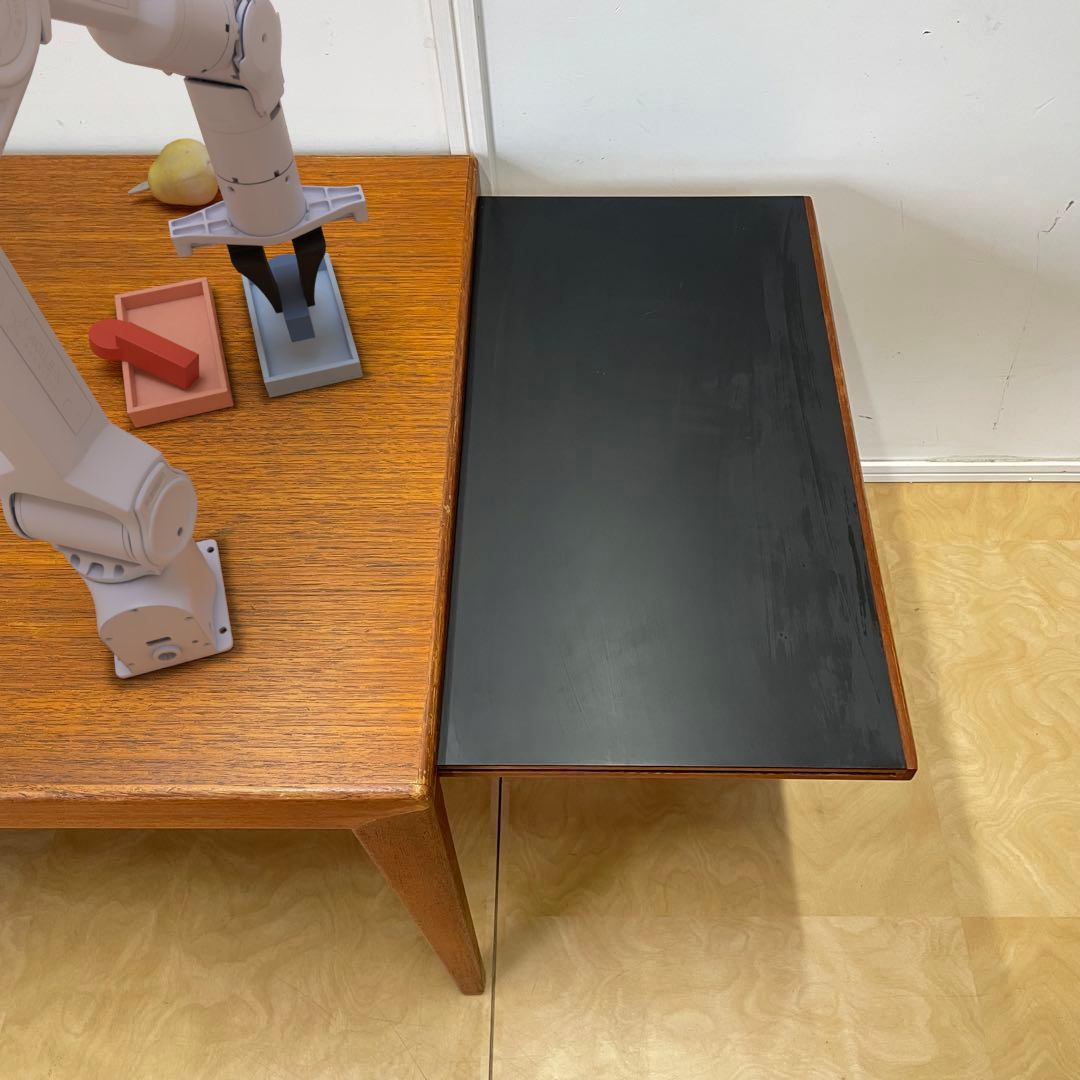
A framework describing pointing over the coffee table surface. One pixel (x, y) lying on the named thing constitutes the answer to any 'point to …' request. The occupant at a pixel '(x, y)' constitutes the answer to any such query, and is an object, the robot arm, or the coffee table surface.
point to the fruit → (181, 174)
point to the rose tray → (187, 323)
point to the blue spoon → (292, 297)
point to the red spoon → (144, 351)
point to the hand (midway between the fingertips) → (294, 301)
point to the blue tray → (310, 358)
